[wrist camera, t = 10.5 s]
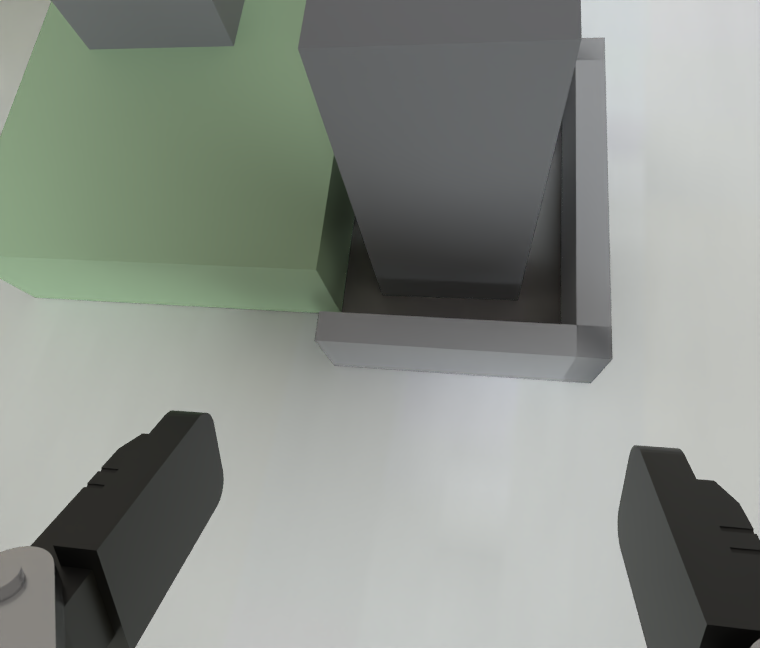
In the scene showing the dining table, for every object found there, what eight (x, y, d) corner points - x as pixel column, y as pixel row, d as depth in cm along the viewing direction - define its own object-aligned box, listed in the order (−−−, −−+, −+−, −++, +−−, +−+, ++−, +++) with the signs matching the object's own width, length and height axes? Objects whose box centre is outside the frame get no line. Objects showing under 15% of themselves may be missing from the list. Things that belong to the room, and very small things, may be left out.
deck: (20, 343, 23) (-279, 219, 14) (139, -28, 30) (-11, -284, 20) (590, 383, 20) (707, 252, 10) (585, -48, 26) (655, -372, 17)
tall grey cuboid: (382, 295, 22) (297, 48, 11) (395, 160, 24) (336, -170, 12) (517, 300, 21) (581, 39, 10) (519, 160, 23) (576, -193, 12)
